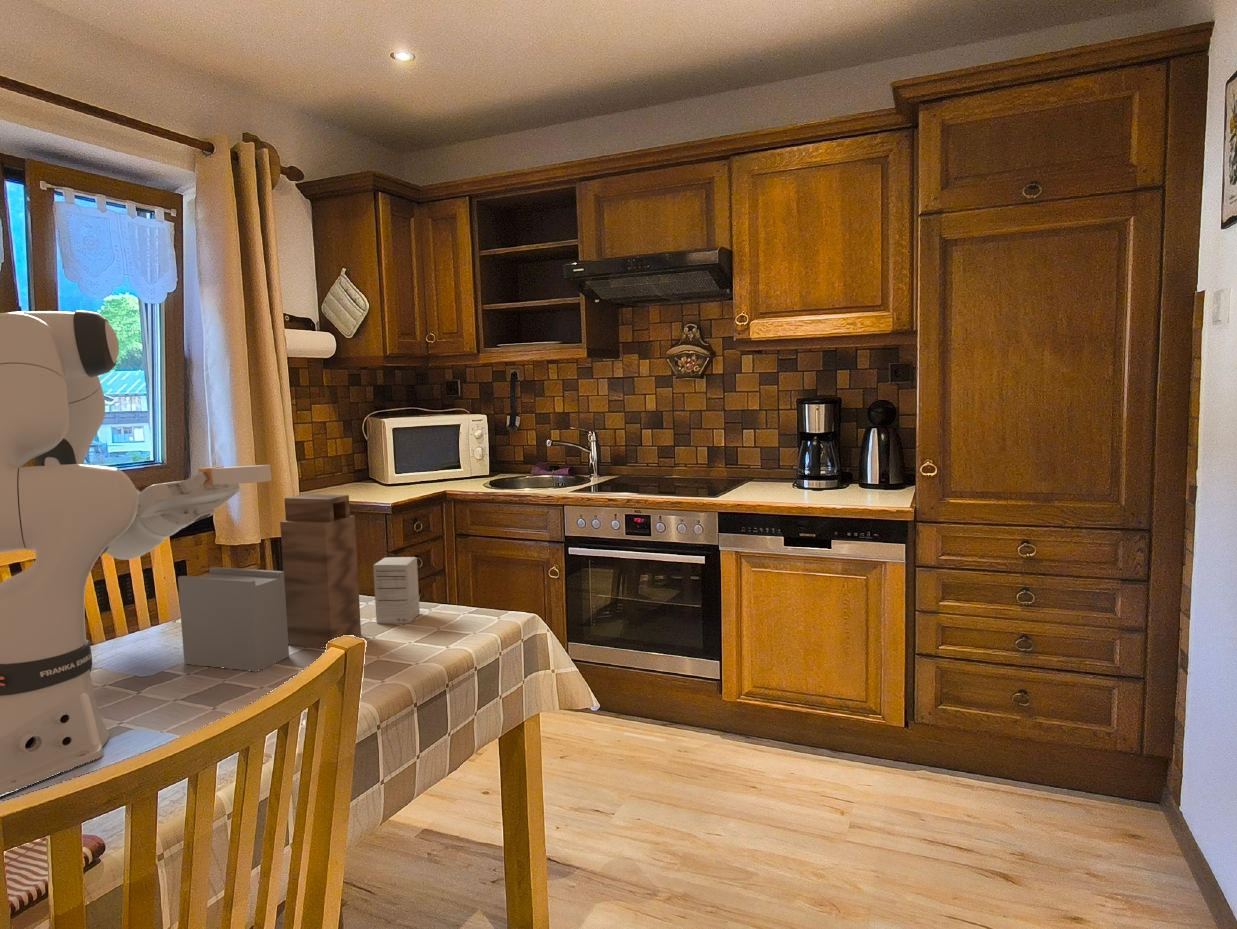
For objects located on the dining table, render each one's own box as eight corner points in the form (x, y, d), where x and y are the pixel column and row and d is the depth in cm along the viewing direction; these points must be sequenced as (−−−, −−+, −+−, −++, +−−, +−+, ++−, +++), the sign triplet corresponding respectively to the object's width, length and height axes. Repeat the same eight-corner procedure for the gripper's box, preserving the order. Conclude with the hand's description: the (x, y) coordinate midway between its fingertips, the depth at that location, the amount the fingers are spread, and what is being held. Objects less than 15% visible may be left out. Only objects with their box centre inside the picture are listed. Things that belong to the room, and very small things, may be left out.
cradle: (256, 672, 134) (250, 581, 132) (184, 664, 139) (177, 577, 137) (289, 656, 142) (283, 571, 140) (219, 649, 146) (213, 566, 145)
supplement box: (387, 613, 168) (384, 556, 167) (420, 613, 168) (418, 556, 167) (375, 624, 161) (372, 564, 160) (410, 623, 161) (407, 564, 159)
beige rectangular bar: (259, 482, 142) (257, 465, 142) (199, 485, 146) (198, 468, 146) (272, 480, 145) (270, 463, 145) (213, 483, 149) (211, 467, 149)
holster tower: (331, 649, 145) (323, 500, 142) (287, 645, 148) (278, 499, 145) (361, 634, 154) (353, 494, 151) (319, 630, 157) (311, 492, 154)
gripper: (113, 502, 142) (160, 465, 137) (203, 488, 161) (247, 455, 157) (128, 532, 141) (176, 495, 137) (217, 514, 161) (262, 482, 156)
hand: (215, 474), depth 147 cm, fingers closed on beige rectangular bar, 3 cm apart
